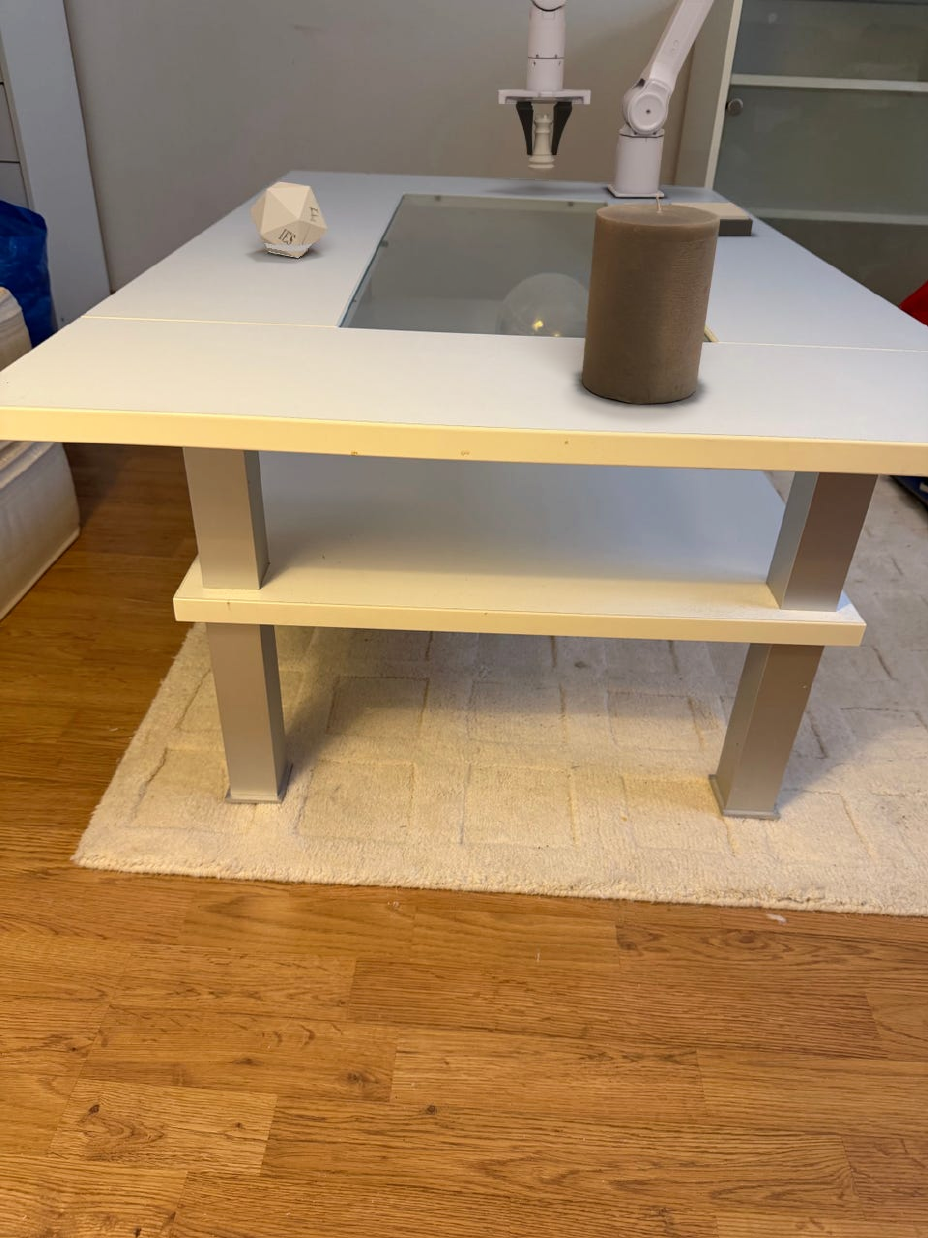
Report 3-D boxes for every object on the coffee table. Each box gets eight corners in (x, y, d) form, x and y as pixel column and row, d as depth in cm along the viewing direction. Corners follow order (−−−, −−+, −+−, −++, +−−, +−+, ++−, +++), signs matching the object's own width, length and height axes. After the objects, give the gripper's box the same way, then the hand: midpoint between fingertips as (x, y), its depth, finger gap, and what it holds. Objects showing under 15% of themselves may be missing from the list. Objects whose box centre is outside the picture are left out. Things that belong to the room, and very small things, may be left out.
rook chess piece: (555, 171, 154) (558, 115, 150) (527, 171, 154) (529, 115, 150) (553, 167, 158) (556, 112, 153) (526, 166, 158) (528, 112, 153)
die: (261, 270, 115) (305, 201, 110) (224, 221, 118) (265, 151, 113) (309, 282, 122) (352, 218, 117) (273, 236, 125) (314, 171, 120)
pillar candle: (619, 411, 76) (640, 210, 68) (561, 373, 83) (574, 188, 75) (720, 395, 79) (751, 201, 71) (655, 360, 87) (677, 181, 78)
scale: (663, 220, 140) (665, 201, 138) (730, 220, 140) (733, 201, 138) (679, 235, 131) (681, 215, 129) (750, 235, 131) (754, 215, 130)
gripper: (500, 58, 144) (498, 157, 151) (596, 59, 144) (589, 157, 152) (497, 56, 149) (495, 151, 157) (589, 56, 150) (582, 151, 157)
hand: (541, 154), depth 155 cm, fingers closed on rook chess piece, 3 cm apart
